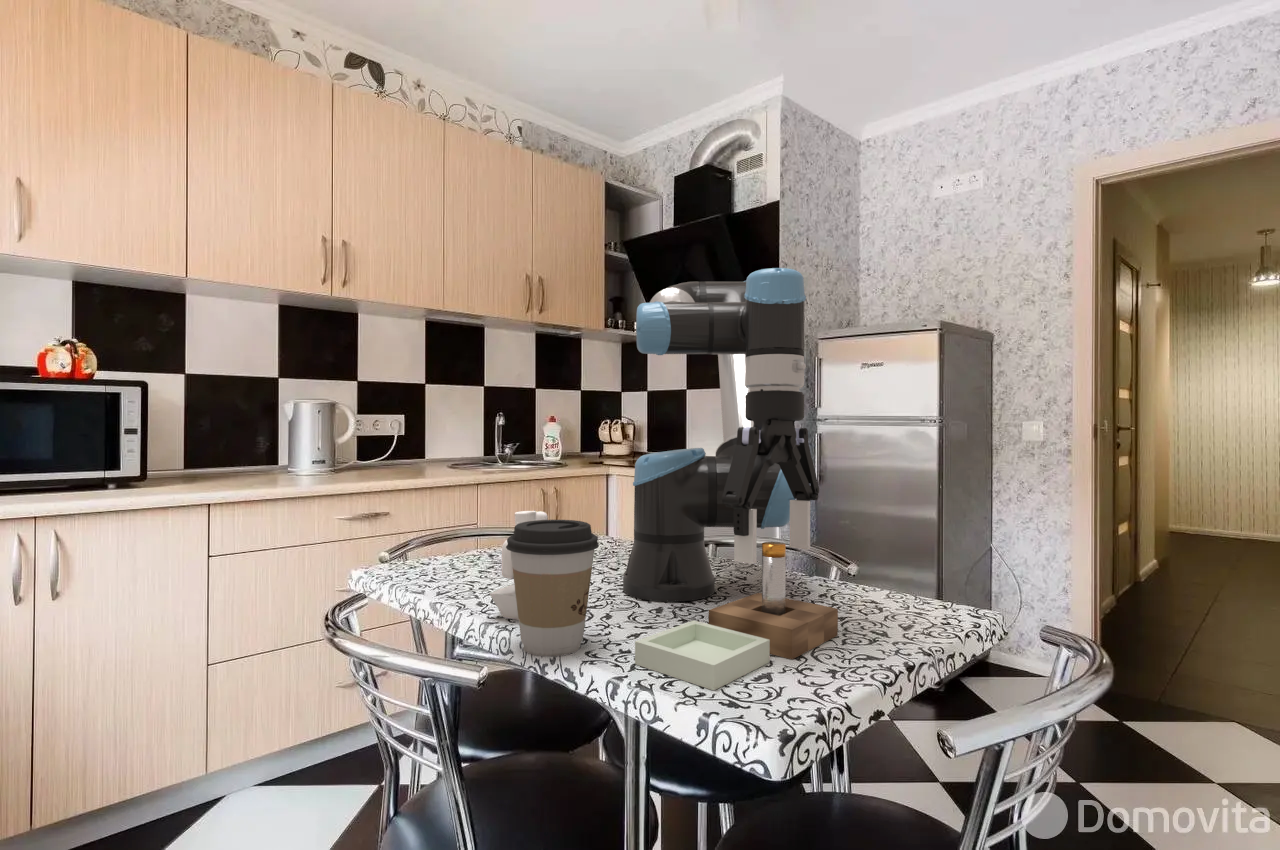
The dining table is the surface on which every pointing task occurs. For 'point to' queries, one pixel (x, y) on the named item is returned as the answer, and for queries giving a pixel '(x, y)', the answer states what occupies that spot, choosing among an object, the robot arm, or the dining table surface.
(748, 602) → the block
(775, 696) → the dining table surface
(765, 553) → the clear capped vial
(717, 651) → the tray
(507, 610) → the figurine
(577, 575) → the coffee cup
